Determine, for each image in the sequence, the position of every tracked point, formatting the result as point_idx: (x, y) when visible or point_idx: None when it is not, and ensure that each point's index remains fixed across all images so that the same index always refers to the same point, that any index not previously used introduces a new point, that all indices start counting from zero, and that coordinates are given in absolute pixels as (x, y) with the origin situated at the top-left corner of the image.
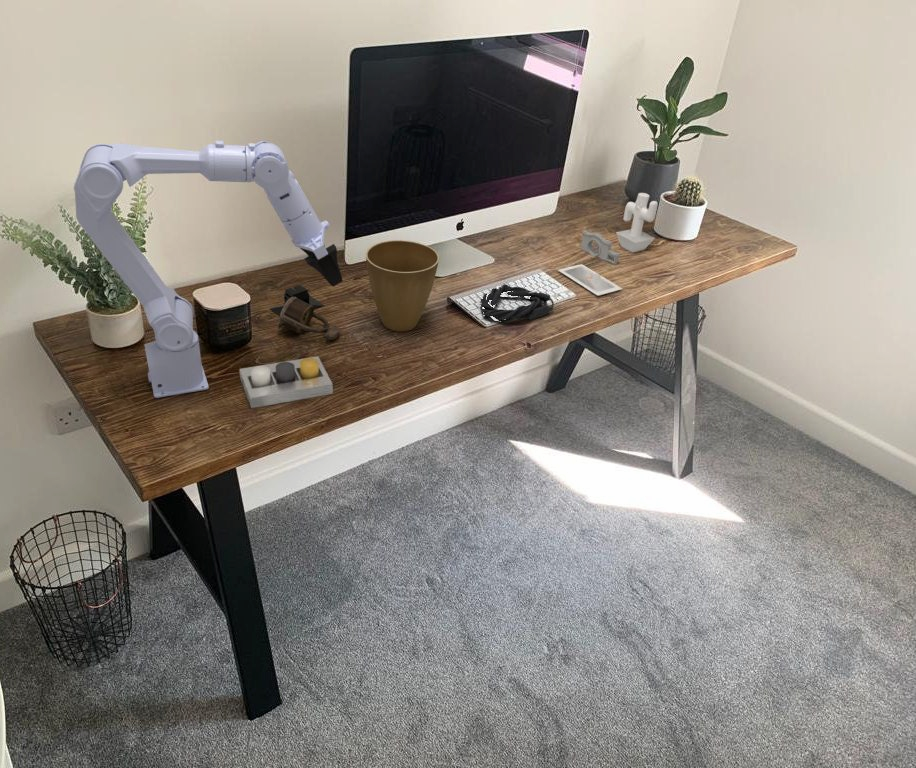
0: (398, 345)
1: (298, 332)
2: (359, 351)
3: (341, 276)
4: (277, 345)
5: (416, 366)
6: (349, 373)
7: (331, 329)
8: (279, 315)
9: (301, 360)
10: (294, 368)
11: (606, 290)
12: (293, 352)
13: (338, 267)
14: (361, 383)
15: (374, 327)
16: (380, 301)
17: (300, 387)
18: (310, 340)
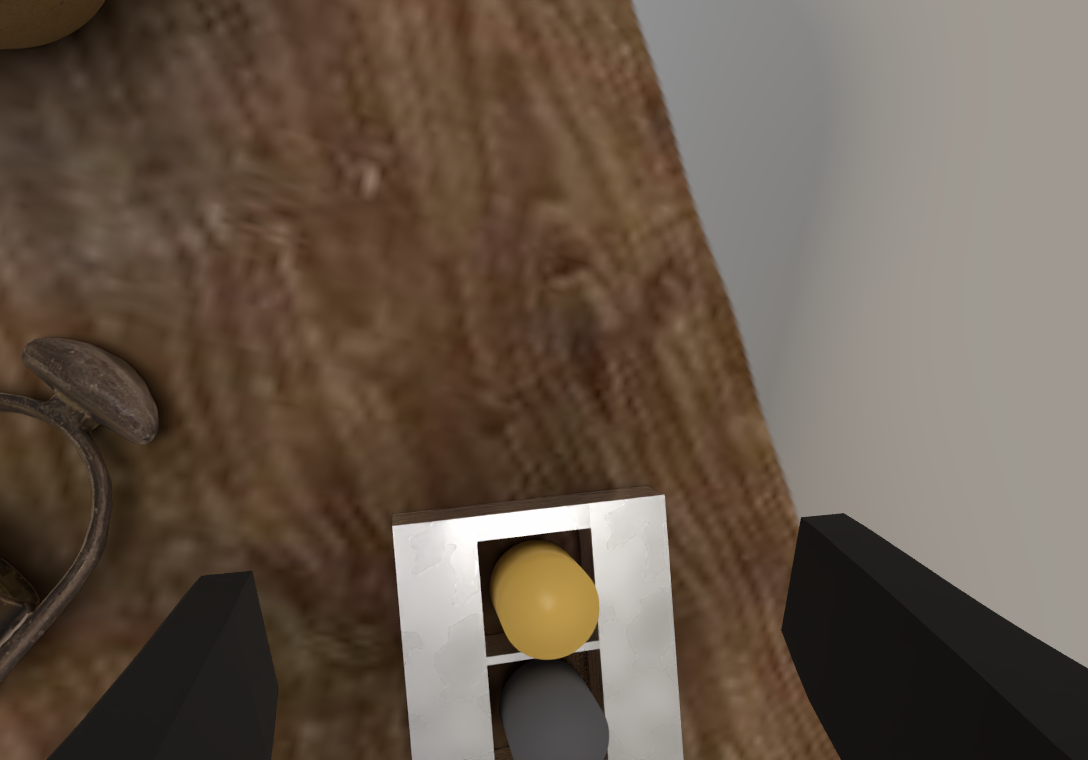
0: (277, 42)
1: (30, 584)
2: (294, 273)
3: (885, 542)
4: None
5: (509, 23)
6: (496, 373)
7: (111, 402)
8: None
9: (518, 647)
10: (571, 687)
11: None
12: None
13: (1043, 644)
14: (594, 336)
15: (28, 113)
16: (5, 9)
17: (659, 650)
18: None
